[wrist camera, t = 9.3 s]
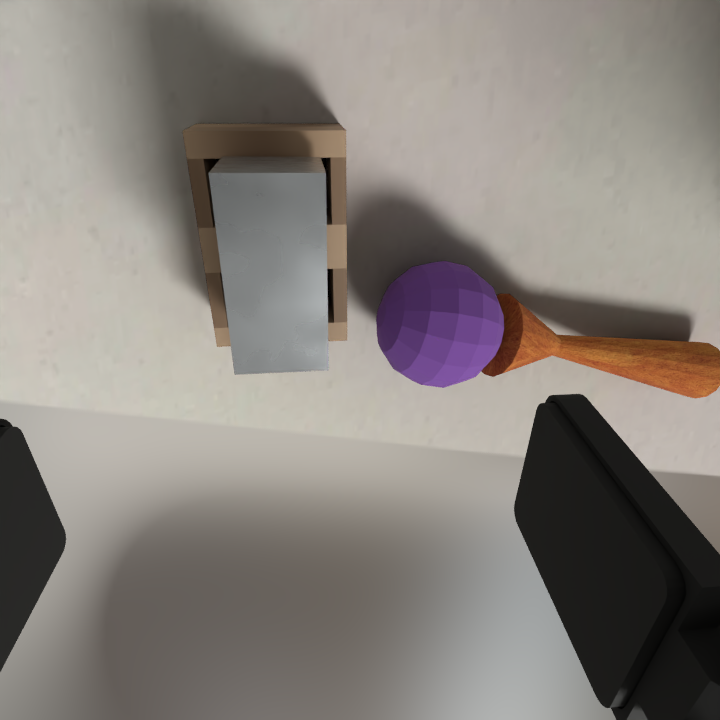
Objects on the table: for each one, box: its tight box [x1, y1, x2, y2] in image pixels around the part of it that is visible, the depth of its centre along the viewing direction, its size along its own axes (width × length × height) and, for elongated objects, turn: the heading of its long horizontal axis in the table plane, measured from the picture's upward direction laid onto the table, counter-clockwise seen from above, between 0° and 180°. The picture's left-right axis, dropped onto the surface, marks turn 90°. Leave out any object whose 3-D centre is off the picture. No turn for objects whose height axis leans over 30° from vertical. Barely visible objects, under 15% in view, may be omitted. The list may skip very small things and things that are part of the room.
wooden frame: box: [183, 123, 347, 347], centre depth 22 cm, size 6×9×3 cm, turn 0°
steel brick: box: [209, 156, 329, 375], centre depth 20 cm, size 4×7×7 cm, turn 179°
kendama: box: [376, 261, 720, 398], centre depth 26 cm, size 6×6×20 cm
